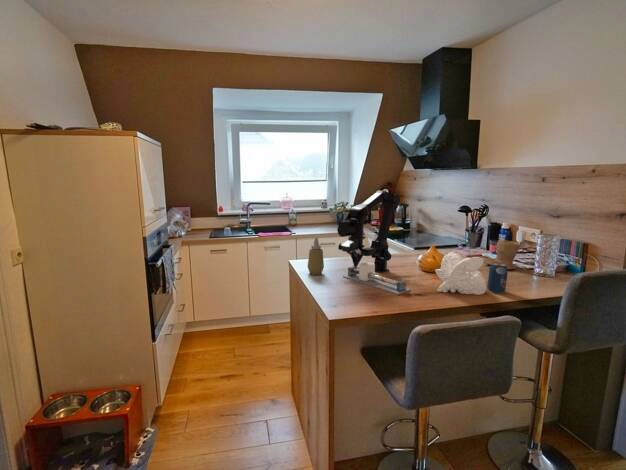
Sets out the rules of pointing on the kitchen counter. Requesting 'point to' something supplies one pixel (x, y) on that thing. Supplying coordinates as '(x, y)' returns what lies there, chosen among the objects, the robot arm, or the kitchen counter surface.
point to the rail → (380, 278)
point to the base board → (377, 284)
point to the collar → (366, 270)
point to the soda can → (497, 277)
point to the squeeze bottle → (315, 258)
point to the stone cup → (505, 253)
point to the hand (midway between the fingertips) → (355, 266)
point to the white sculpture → (461, 275)
